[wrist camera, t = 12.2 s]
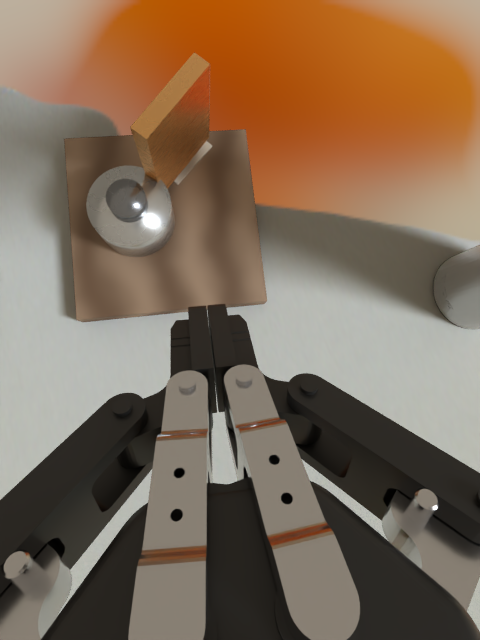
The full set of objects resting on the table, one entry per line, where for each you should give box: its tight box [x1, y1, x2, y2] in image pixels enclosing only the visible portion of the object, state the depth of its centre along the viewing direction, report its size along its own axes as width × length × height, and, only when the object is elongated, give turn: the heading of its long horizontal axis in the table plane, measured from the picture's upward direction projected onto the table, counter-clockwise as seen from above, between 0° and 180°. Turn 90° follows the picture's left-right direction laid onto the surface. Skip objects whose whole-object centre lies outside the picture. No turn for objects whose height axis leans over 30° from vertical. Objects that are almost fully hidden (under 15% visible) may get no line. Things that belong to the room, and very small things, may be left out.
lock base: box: [64, 130, 267, 322], centre depth 41 cm, size 20×20×2 cm
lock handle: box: [86, 53, 210, 257], centre depth 35 cm, size 16×8×11 cm, turn 144°
